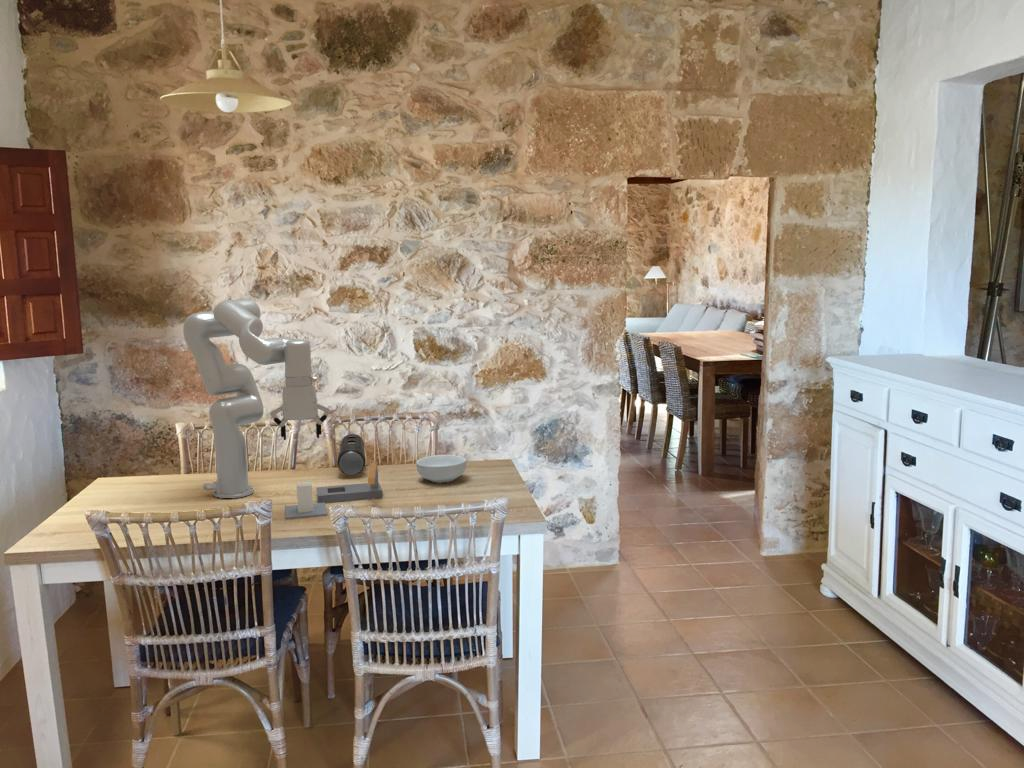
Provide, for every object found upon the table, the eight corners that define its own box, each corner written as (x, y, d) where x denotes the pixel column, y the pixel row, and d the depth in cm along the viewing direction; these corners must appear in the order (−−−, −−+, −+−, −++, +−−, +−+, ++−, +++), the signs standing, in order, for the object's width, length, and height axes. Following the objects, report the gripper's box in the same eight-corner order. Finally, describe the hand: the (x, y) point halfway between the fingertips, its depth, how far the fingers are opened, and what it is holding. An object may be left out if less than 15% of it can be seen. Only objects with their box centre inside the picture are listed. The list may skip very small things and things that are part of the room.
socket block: (318, 503, 265) (317, 478, 263) (316, 494, 274) (315, 470, 273) (382, 497, 270) (381, 472, 268) (379, 489, 279) (378, 465, 278)
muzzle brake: (365, 459, 321) (364, 432, 319) (366, 478, 293) (364, 449, 292) (340, 460, 319) (338, 433, 317) (337, 480, 292) (336, 450, 290)
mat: (285, 519, 250) (285, 517, 249) (285, 507, 261) (285, 506, 261) (327, 515, 253) (327, 513, 253) (325, 503, 264) (324, 502, 264)
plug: (298, 512, 254) (296, 486, 253) (297, 508, 258) (296, 483, 257) (313, 511, 255) (311, 485, 254) (312, 507, 259) (311, 481, 258)
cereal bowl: (456, 471, 301) (456, 452, 300) (474, 482, 286) (473, 462, 285) (410, 477, 294) (409, 457, 293) (426, 489, 279) (425, 468, 278)
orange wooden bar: (375, 484, 254) (375, 477, 254) (366, 484, 254) (366, 477, 254) (377, 467, 274) (377, 461, 274) (369, 467, 274) (369, 461, 273)
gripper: (327, 378, 256) (330, 433, 259) (268, 381, 252) (271, 437, 255) (329, 382, 249) (331, 439, 252) (268, 385, 245) (271, 442, 248)
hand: (301, 438), depth 253 cm, fingers open, 9 cm apart
